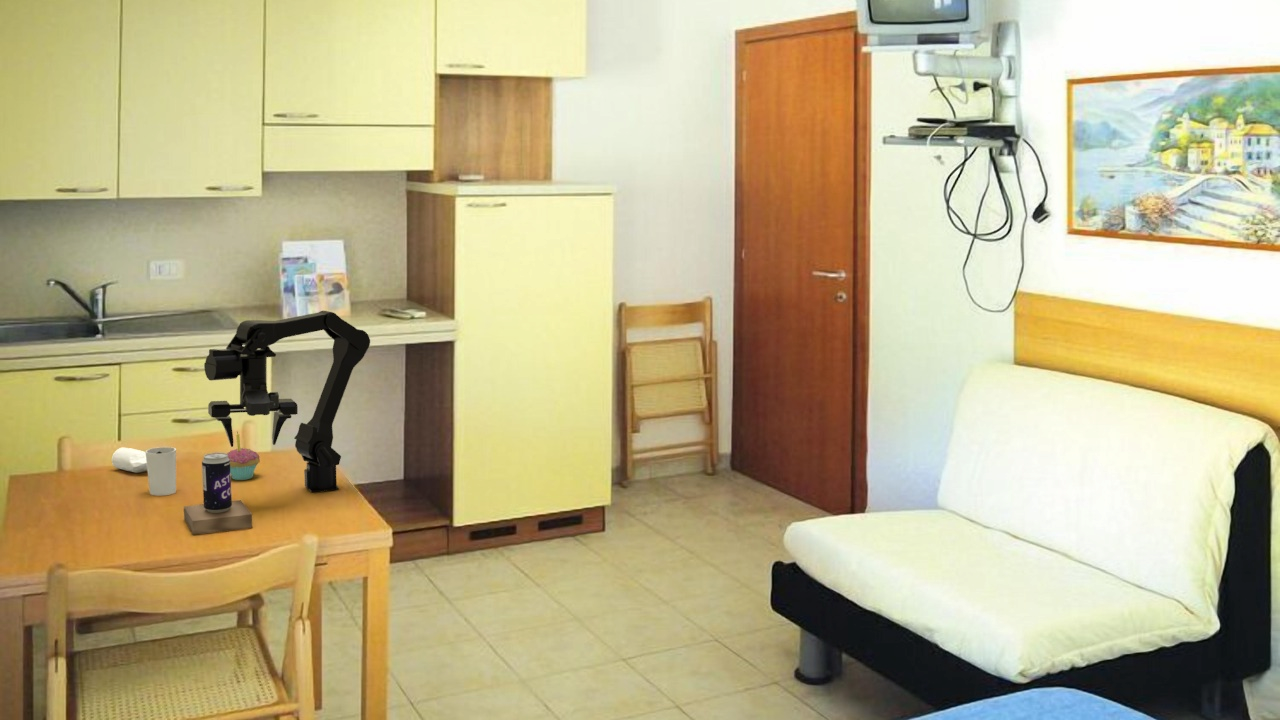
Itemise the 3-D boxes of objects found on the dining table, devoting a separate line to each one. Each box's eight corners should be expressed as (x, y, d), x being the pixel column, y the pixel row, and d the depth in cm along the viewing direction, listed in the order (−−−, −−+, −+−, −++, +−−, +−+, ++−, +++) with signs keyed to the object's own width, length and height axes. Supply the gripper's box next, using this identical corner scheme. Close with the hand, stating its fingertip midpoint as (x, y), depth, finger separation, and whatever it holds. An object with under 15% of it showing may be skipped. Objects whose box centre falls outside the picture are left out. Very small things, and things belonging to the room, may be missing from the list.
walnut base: (241, 513, 291) (240, 500, 291) (252, 527, 281) (251, 514, 280) (184, 519, 286) (183, 506, 285) (193, 535, 275) (192, 521, 275)
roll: (140, 478, 319) (139, 456, 318) (111, 471, 326) (110, 448, 325) (162, 473, 324) (161, 451, 323) (133, 466, 331) (132, 444, 330)
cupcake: (254, 482, 317) (252, 433, 315) (218, 481, 317) (216, 432, 315) (264, 473, 325) (262, 425, 323) (230, 472, 325) (228, 425, 323)
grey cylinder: (141, 494, 305) (139, 452, 303) (161, 487, 311) (158, 445, 310) (164, 497, 303) (162, 454, 301) (184, 490, 309) (182, 448, 307)
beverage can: (214, 515, 279) (212, 460, 277) (198, 510, 282) (196, 455, 280) (237, 509, 283) (235, 454, 281) (221, 504, 287) (218, 450, 285)
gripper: (215, 384, 285) (215, 455, 287) (302, 381, 293) (302, 450, 295) (207, 376, 295) (207, 444, 297) (292, 374, 303) (292, 440, 305)
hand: (253, 445), depth 298 cm, fingers open, 9 cm apart
